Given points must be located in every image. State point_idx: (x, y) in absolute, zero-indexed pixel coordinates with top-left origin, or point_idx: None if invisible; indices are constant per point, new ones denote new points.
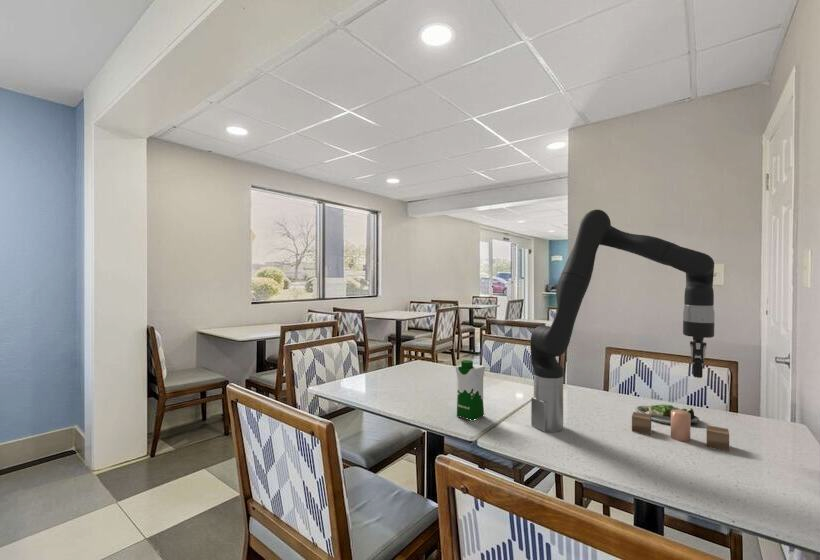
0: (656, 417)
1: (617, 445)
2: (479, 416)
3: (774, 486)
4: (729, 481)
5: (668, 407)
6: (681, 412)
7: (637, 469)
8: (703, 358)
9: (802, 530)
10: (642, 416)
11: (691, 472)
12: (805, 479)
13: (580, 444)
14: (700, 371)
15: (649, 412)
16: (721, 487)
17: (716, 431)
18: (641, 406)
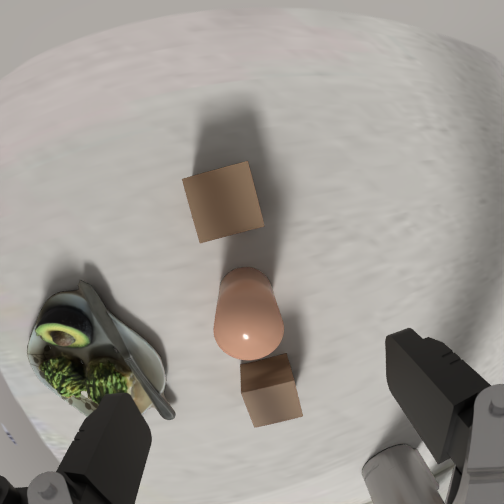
0: (152, 380)
1: None
2: None
3: (391, 68)
4: (436, 141)
5: (60, 373)
6: (247, 328)
7: (485, 286)
8: (474, 473)
9: (492, 62)
10: (282, 401)
11: (448, 209)
12: (295, 18)
13: None
14: (460, 359)
15: None
16: (467, 153)
17: (249, 200)
18: None
